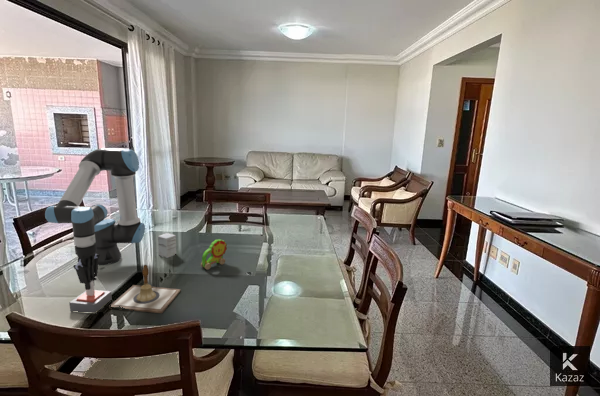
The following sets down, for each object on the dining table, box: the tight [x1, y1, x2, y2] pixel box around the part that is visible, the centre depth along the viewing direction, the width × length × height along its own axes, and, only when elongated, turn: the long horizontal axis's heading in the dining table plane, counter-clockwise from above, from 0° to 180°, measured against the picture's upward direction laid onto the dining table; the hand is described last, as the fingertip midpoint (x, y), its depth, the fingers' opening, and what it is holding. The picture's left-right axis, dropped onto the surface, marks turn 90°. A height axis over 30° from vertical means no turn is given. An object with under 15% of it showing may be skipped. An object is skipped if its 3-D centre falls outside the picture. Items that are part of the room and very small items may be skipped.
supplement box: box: [157, 232, 177, 259], centre depth 195 cm, size 7×7×13 cm
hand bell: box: [137, 264, 156, 302], centre depth 148 cm, size 8×8×16 cm
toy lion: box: [200, 238, 228, 270], centre depth 186 cm, size 16×5×15 cm, turn 141°
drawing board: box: [110, 284, 182, 314], centre depth 150 cm, size 24×19×1 cm
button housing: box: [69, 289, 113, 312], centre depth 141 cm, size 11×11×4 cm
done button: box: [77, 290, 104, 303], centre depth 141 cm, size 7×7×3 cm
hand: (90, 294), depth 141 cm, fingers closed
